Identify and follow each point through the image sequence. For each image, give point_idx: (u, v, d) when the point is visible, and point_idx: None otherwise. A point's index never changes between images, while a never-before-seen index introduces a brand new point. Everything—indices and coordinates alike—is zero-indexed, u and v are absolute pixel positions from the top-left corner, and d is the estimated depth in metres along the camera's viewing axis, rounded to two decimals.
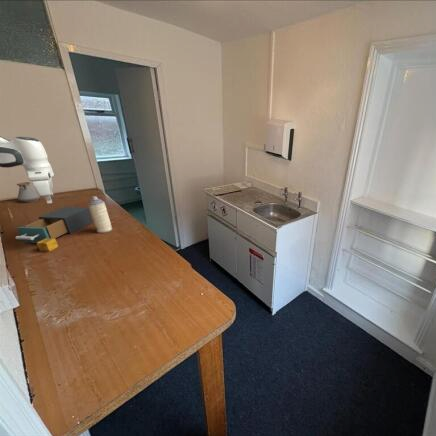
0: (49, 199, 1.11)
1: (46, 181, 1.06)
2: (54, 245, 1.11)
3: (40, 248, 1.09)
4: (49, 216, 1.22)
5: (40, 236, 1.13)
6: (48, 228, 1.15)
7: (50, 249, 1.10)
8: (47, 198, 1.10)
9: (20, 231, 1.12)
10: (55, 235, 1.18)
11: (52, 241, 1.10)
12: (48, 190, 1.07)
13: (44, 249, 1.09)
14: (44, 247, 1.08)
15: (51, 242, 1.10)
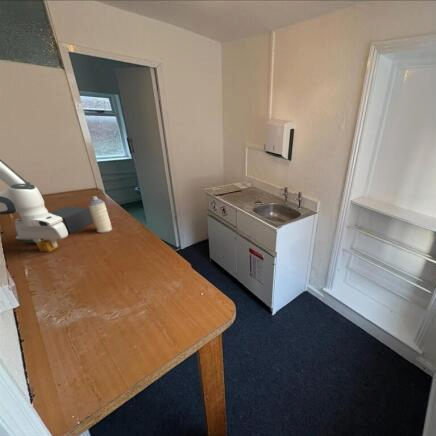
0: (55, 242, 1.10)
1: (62, 223, 1.08)
2: None
3: (40, 248, 1.09)
4: None
5: None
6: None
7: (50, 249, 1.10)
8: (54, 241, 1.09)
9: None
10: None
11: None
12: (66, 231, 1.09)
13: (44, 249, 1.09)
14: (44, 247, 1.08)
15: None
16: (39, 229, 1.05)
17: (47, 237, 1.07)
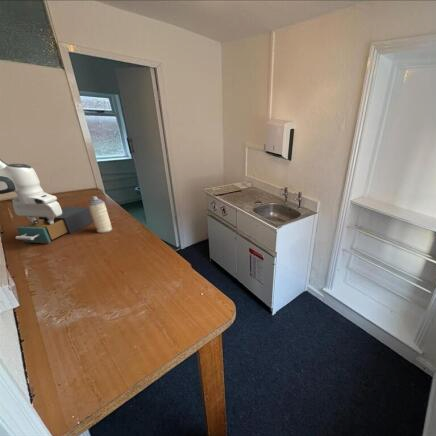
0: (52, 220, 1.17)
1: (56, 202, 1.15)
2: None
3: None
4: None
5: (40, 236, 1.13)
6: (48, 228, 1.15)
7: None
8: (51, 219, 1.16)
9: (20, 231, 1.12)
10: (55, 235, 1.18)
11: None
12: None
13: None
14: None
15: None
16: (35, 207, 1.12)
17: (42, 215, 1.14)
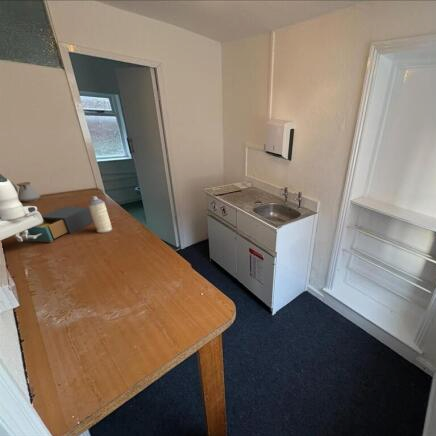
0: None
1: None
2: None
3: None
4: (49, 216, 1.22)
5: (43, 235, 1.14)
6: (50, 227, 1.16)
7: None
8: None
9: None
10: (57, 234, 1.19)
11: None
12: None
13: None
14: None
15: None
16: (20, 220, 1.06)
17: (30, 226, 1.10)
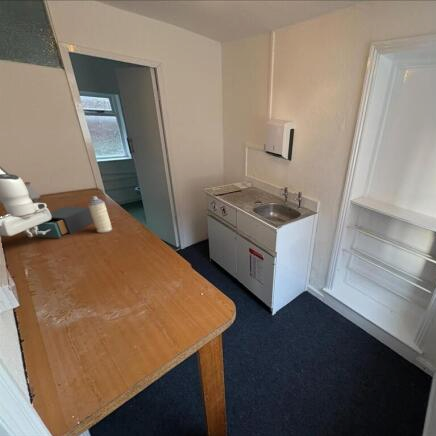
0: None
1: None
2: None
3: None
4: None
5: (51, 231, 1.18)
6: (59, 223, 1.20)
7: None
8: None
9: None
10: (65, 230, 1.24)
11: None
12: None
13: None
14: None
15: None
16: (30, 217, 1.10)
17: (39, 222, 1.14)
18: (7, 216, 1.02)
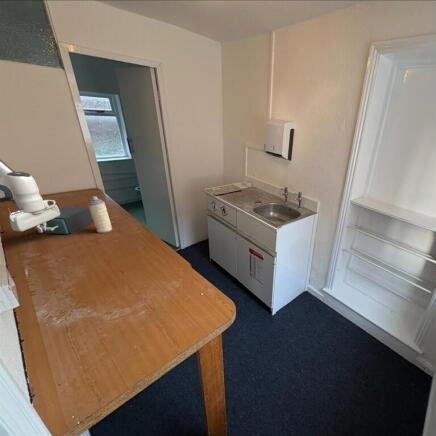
0: None
1: None
2: None
3: None
4: None
5: (59, 227, 1.22)
6: None
7: None
8: None
9: None
10: None
11: None
12: None
13: None
14: None
15: None
16: (40, 213, 1.14)
17: (48, 218, 1.18)
18: (19, 212, 1.06)
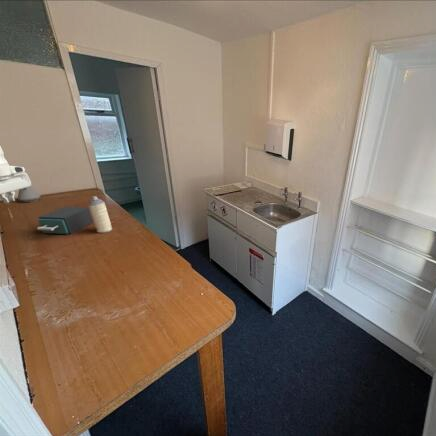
0: None
1: None
2: None
3: None
4: (49, 216, 1.22)
5: (59, 227, 1.22)
6: None
7: None
8: None
9: (41, 223, 1.21)
10: None
11: None
12: None
13: None
14: None
15: None
16: (6, 180, 1.00)
17: (17, 187, 1.04)
18: None
